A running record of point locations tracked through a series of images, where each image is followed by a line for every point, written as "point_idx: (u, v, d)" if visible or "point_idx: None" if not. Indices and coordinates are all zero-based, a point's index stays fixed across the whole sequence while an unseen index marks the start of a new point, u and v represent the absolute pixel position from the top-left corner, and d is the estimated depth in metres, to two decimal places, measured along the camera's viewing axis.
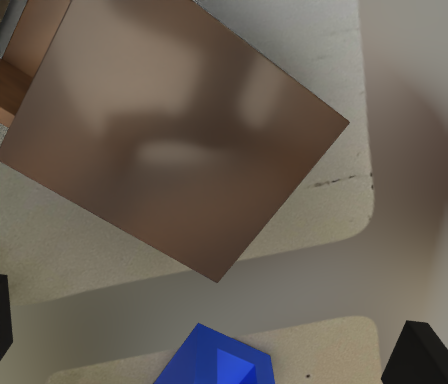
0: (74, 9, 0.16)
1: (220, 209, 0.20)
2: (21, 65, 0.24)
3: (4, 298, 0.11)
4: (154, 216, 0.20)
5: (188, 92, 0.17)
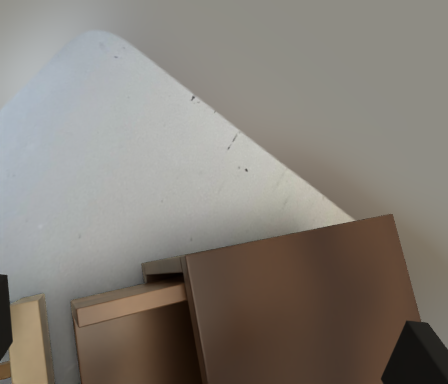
0: (204, 326, 0.16)
1: None
2: None
3: (4, 298, 0.11)
4: None
5: (311, 297, 0.19)
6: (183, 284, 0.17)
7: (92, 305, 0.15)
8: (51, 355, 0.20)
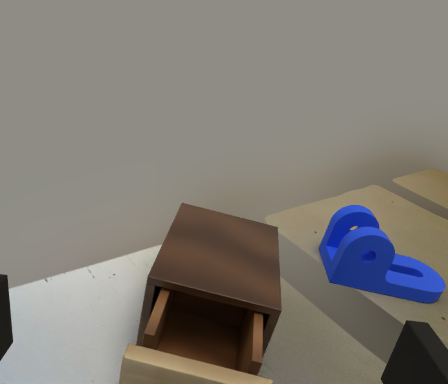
0: (185, 283, 0.31)
1: (242, 229, 0.40)
2: None
3: (4, 298, 0.11)
4: (262, 249, 0.38)
5: (199, 244, 0.36)
6: (161, 289, 0.31)
7: None
8: None
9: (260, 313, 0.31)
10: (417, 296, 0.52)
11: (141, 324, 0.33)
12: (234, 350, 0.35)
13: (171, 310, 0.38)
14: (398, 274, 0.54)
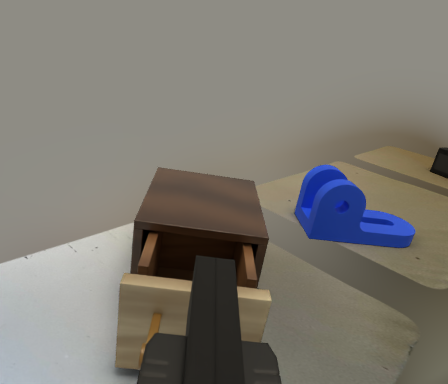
0: (172, 223, 0.31)
1: (221, 184, 0.41)
2: None
3: None
4: (243, 196, 0.39)
5: (180, 195, 0.37)
6: (149, 233, 0.31)
7: (139, 261, 0.27)
8: None
9: (249, 245, 0.32)
10: (391, 242, 0.55)
11: None
12: None
13: (159, 267, 0.38)
14: (371, 224, 0.56)
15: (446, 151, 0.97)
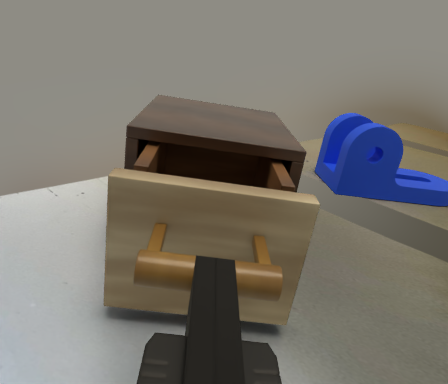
0: (178, 131, 0.23)
1: (235, 111, 0.33)
2: None
3: None
4: (264, 121, 0.31)
5: (187, 114, 0.29)
6: (149, 142, 0.24)
7: None
8: None
9: (277, 159, 0.25)
10: (430, 199, 0.47)
11: None
12: None
13: None
14: (406, 180, 0.48)
15: None
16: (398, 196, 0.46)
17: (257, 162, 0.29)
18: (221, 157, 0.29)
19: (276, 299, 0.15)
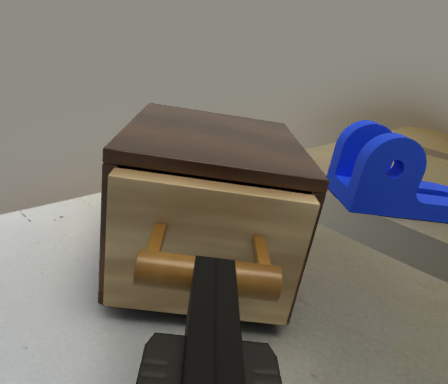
0: (168, 155, 0.18)
1: (239, 122, 0.29)
2: None
3: None
4: (273, 135, 0.26)
5: (181, 128, 0.24)
6: None
7: None
8: None
9: None
10: None
11: (102, 246, 0.20)
12: None
13: None
14: (427, 195, 0.44)
15: None
16: (419, 214, 0.41)
17: None
18: None
19: (276, 299, 0.15)
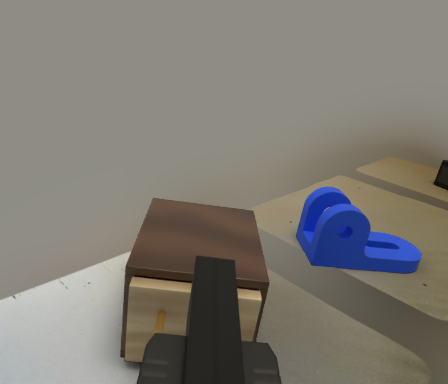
0: (166, 268, 0.29)
1: (218, 216, 0.39)
2: None
3: None
4: (242, 230, 0.37)
5: (176, 232, 0.35)
6: None
7: None
8: None
9: None
10: (397, 267, 0.53)
11: (124, 322, 0.31)
12: None
13: None
14: (376, 249, 0.54)
15: None
16: (368, 266, 0.52)
17: None
18: None
19: None
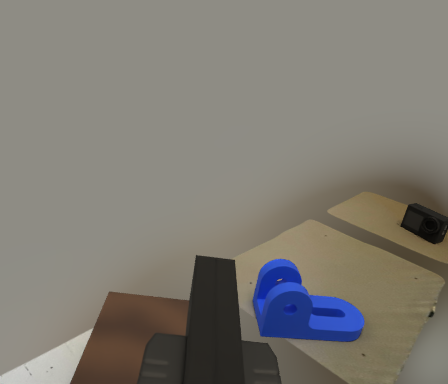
0: None
1: (165, 312, 0.44)
2: None
3: None
4: (183, 330, 0.42)
5: (122, 337, 0.40)
6: None
7: None
8: None
9: None
10: (340, 337, 0.58)
11: None
12: None
13: None
14: (322, 318, 0.59)
15: (415, 209, 1.01)
16: (312, 336, 0.57)
17: None
18: None
19: None
